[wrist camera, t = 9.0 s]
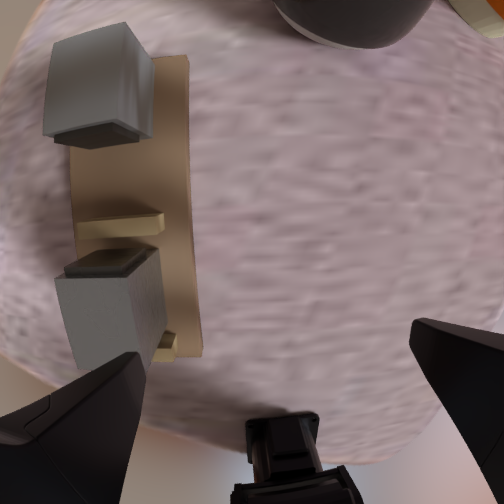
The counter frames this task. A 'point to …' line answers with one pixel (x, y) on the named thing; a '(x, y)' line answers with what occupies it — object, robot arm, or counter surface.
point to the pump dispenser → (353, 20)
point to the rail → (129, 161)
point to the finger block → (113, 305)
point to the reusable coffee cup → (482, 15)
